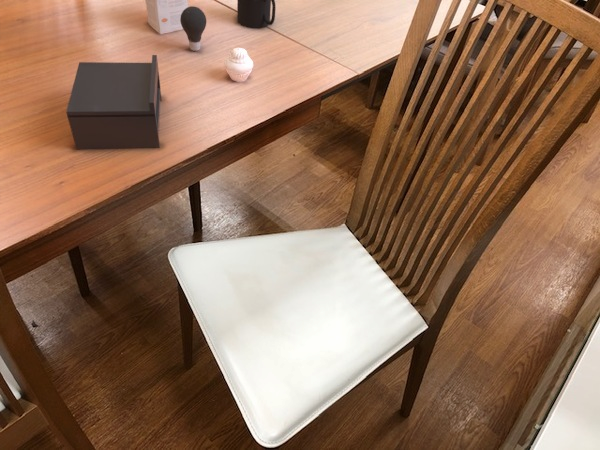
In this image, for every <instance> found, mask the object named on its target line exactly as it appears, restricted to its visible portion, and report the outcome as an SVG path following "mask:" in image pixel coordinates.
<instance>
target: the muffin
mask: <svg viewBox="0 0 600 450" xmlns="http://www.w3.org/2000/svg"><path fill="white" fill-rule="evenodd" d="M223 63H224V68H225V70H226V72H227V74H228V75H229V77H230V79H231V80H232V81H234V82H237V83H242V82H245V81H247V79H248V77H249V76H250V74H251V73H252V70H253V68H254V61H253V60H252V58H251V57H250V56H249V54H248V51H247V50H246V49H245V48H243V47H234V48H232V49H231V51H230V54H229V55H228V56H227V57H225V59H224V62H223Z"/></svg>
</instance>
